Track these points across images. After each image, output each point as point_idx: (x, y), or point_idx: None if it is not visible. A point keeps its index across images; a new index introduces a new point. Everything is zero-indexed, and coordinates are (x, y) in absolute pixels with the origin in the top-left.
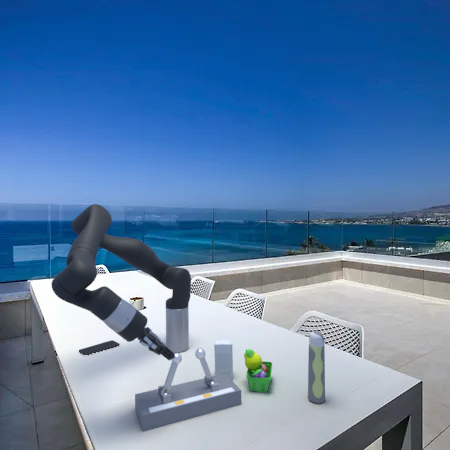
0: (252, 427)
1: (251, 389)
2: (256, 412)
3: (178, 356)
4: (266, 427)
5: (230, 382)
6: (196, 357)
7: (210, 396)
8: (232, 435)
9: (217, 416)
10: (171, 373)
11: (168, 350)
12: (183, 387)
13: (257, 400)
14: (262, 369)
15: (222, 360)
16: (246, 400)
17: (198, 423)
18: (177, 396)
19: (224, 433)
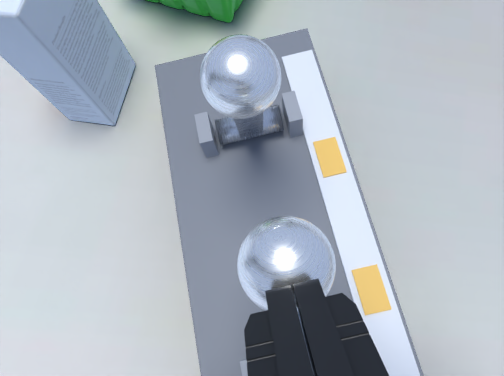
0: (446, 56)
1: (232, 16)
2: (364, 30)
3: (322, 242)
4: (450, 20)
5: None
6: (256, 115)
7: (340, 145)
8: (486, 121)
9: (369, 152)
10: None
11: (341, 344)
12: (226, 258)
13: (295, 14)
14: None
15: (84, 44)
16: None
17: (404, 225)
18: None
19: (473, 144)
